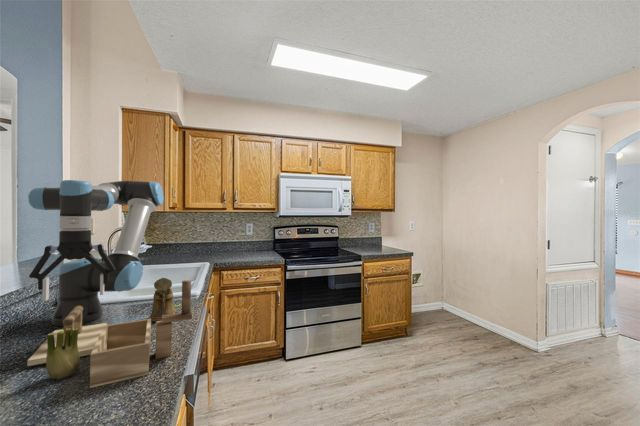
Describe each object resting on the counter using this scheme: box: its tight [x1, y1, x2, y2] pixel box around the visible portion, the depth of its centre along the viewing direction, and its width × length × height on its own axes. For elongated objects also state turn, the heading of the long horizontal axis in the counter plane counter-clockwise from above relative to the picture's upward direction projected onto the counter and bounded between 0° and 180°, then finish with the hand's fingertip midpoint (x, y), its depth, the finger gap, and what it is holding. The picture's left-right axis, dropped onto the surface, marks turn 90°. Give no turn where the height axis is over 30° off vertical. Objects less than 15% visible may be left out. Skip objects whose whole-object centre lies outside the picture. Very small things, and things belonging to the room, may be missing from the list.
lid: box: [26, 306, 108, 367], centre depth 87 cm, size 22×14×11 cm, turn 30°
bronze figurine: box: [149, 277, 176, 323], centre depth 110 cm, size 9×14×18 cm, turn 27°
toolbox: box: [89, 318, 173, 389], centre depth 80 cm, size 20×18×10 cm
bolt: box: [162, 279, 193, 324], centre depth 85 cm, size 3×8×12 cm, turn 120°
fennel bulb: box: [45, 328, 81, 380], centre depth 71 cm, size 6×5×12 cm
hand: (75, 296), depth 88 cm, fingers open, 13 cm apart
